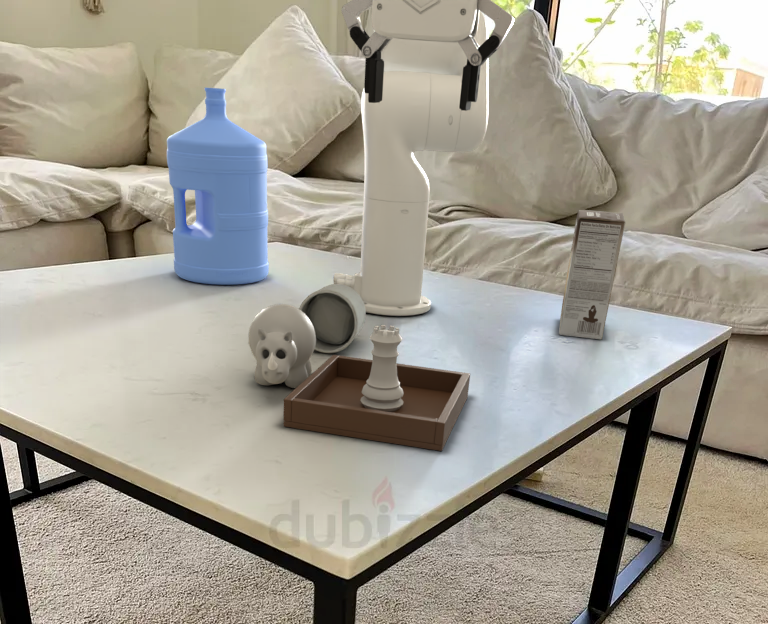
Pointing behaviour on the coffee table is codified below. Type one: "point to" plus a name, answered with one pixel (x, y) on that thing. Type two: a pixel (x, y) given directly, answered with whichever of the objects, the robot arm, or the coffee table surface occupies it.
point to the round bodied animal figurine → (282, 345)
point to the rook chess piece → (383, 372)
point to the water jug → (219, 199)
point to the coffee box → (591, 273)
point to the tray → (350, 418)
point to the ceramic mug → (334, 316)
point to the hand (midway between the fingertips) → (419, 106)
